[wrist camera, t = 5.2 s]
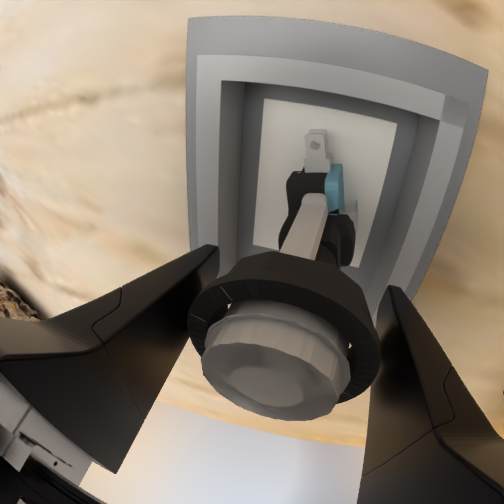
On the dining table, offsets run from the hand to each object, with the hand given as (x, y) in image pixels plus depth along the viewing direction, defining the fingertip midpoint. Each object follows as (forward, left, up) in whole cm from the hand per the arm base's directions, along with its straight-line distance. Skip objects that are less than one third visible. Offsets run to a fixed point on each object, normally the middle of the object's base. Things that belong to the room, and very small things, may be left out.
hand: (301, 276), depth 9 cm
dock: (0, 0, -7) cm, 7 cm away
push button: (0, 0, -7) cm, 7 cm away
